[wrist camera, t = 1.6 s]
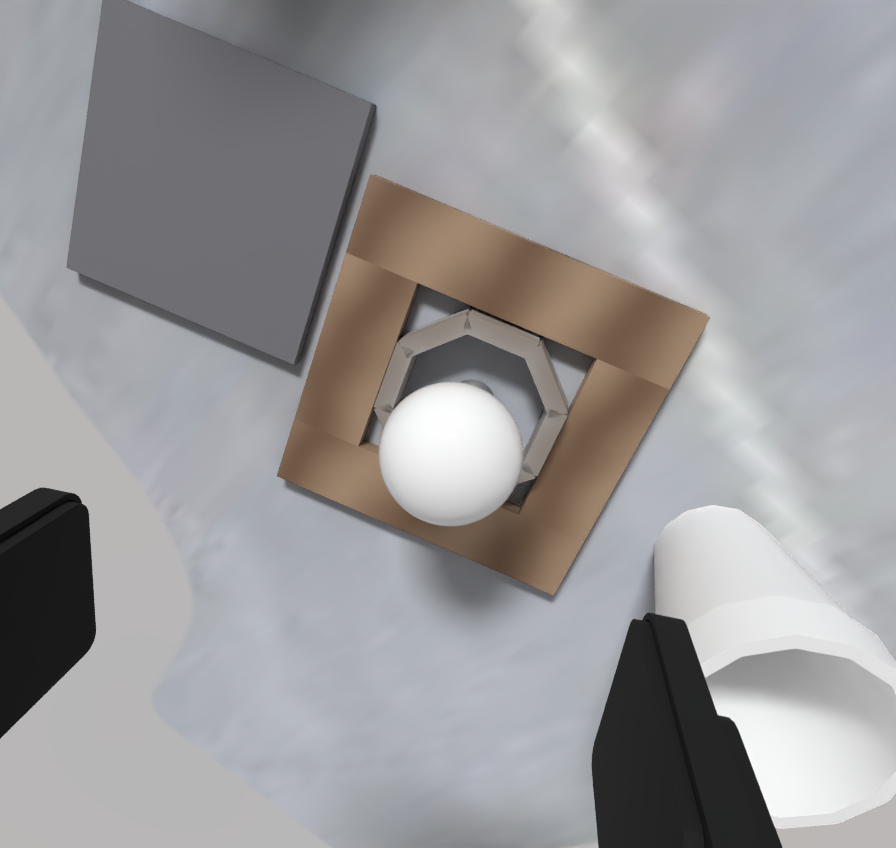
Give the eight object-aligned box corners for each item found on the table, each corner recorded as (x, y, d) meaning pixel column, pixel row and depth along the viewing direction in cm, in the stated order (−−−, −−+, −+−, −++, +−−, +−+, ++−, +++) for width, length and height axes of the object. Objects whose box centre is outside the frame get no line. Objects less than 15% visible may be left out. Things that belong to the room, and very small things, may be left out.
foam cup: (730, 447, 34) (826, 590, 22) (836, 563, 35) (984, 759, 23) (592, 546, 37) (608, 717, 25) (694, 649, 38) (756, 859, 26)
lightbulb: (464, 319, 34) (422, 375, 23) (554, 394, 34) (552, 480, 24) (395, 404, 36) (330, 488, 26) (481, 473, 36) (451, 581, 26)
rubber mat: (376, 105, 31) (371, 103, 30) (299, 361, 36) (293, 364, 35) (114, -5, 31) (103, -9, 30) (76, 266, 36) (66, 267, 35)
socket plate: (705, 314, 31) (714, 321, 30) (553, 585, 38) (553, 605, 36) (375, 175, 32) (364, 174, 30) (283, 469, 39) (269, 483, 37)
